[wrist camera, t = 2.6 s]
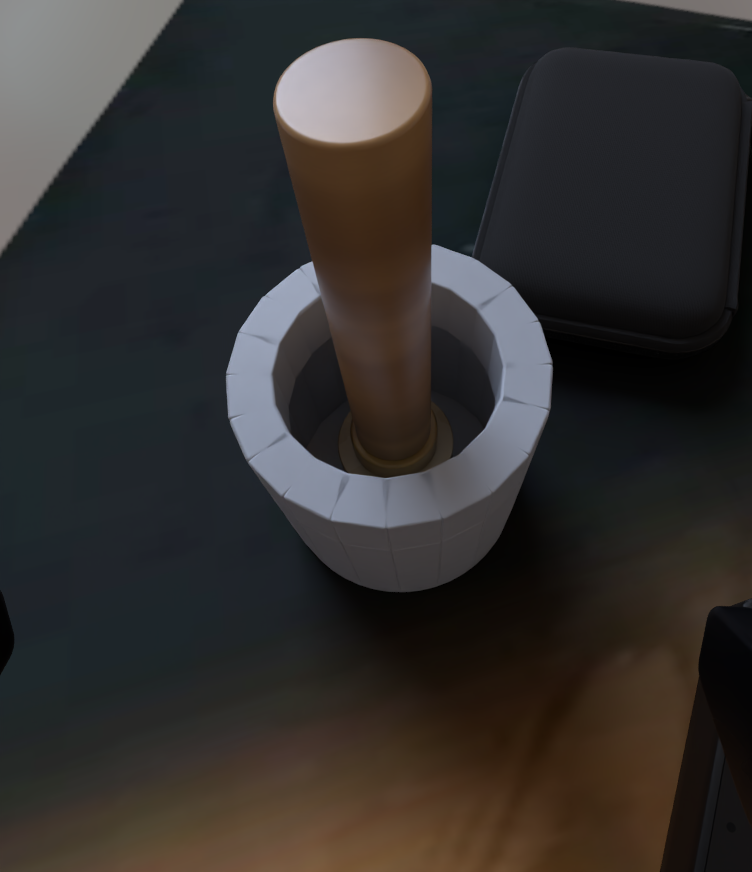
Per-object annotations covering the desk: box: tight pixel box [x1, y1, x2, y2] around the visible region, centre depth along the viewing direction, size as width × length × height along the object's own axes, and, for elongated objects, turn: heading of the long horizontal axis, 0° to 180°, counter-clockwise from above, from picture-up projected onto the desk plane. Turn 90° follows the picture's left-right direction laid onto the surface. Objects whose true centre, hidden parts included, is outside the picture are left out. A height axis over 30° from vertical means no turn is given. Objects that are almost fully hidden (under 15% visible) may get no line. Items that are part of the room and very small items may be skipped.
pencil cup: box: [226, 245, 553, 592], centre depth 19 cm, size 8×8×8 cm
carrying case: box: [472, 48, 752, 360], centre depth 25 cm, size 11×3×15 cm
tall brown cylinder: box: [273, 38, 454, 478], centre depth 15 cm, size 4×4×15 cm
